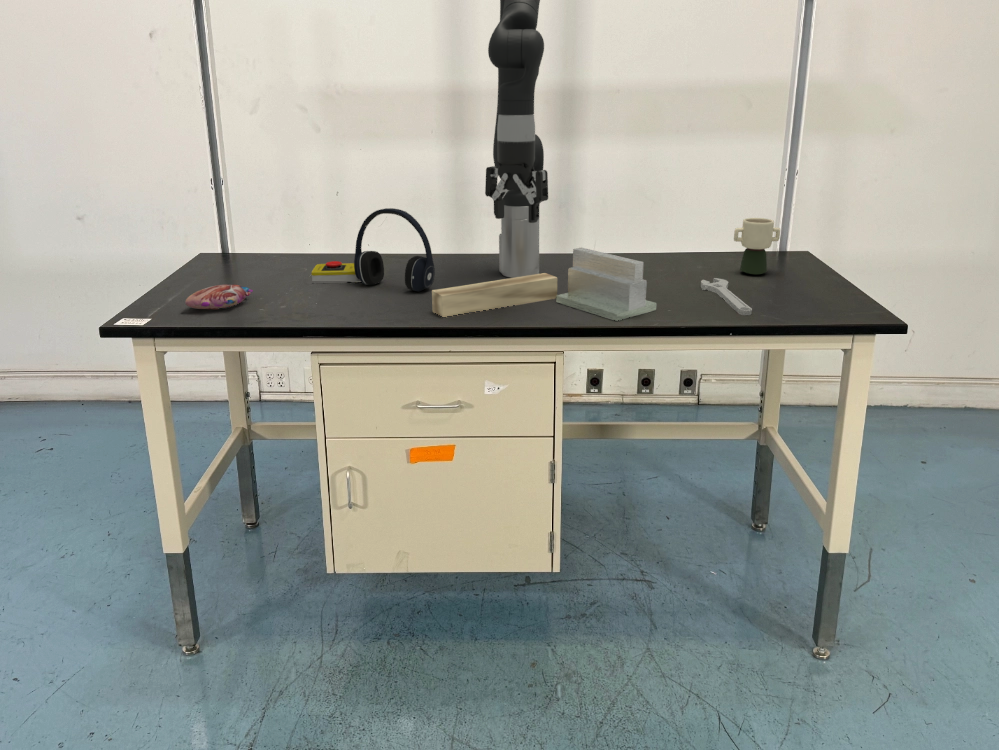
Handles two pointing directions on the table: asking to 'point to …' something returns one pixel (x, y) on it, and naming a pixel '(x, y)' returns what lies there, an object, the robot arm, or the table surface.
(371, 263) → the headphones
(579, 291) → the stand
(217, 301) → the anatomical model
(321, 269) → the emergency button
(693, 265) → the table surface
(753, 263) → the trophy cup
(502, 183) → the robot arm
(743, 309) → the adjustable wrench
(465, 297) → the pine rod
